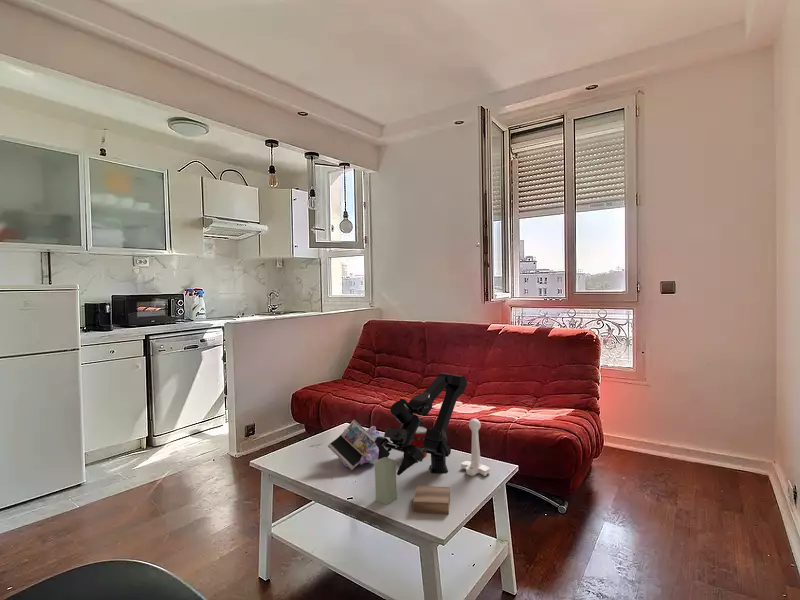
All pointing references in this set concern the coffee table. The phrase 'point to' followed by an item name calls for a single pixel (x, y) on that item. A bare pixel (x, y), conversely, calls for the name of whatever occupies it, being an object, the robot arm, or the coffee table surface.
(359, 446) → the colorful box
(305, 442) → the coffee table surface
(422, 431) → the canned food
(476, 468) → the joystick
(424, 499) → the base block
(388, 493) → the post
